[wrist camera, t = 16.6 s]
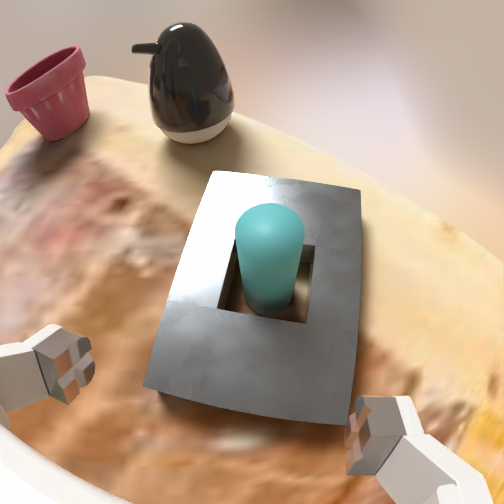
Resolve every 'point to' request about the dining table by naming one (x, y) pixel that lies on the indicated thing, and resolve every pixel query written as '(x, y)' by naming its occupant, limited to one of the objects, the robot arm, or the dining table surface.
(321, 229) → the socket plate
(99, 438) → the dining table surface
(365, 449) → the robot arm
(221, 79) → the pump dispenser
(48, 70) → the plant pot
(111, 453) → the dining table surface
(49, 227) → the dining table surface
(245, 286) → the teal peg
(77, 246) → the dining table surface
